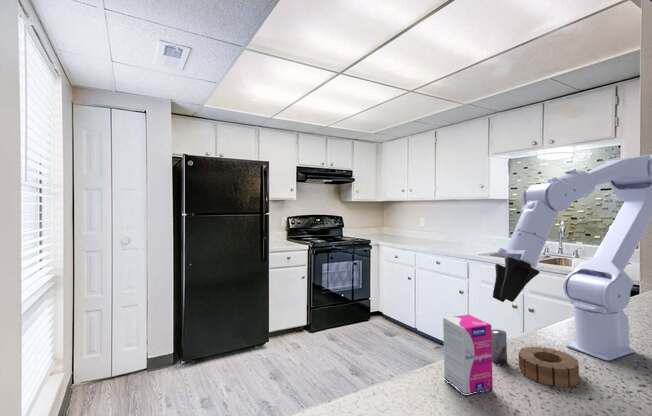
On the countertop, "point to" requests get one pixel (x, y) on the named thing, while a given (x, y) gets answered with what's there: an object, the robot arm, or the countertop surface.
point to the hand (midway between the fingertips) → (501, 299)
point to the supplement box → (468, 353)
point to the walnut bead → (549, 366)
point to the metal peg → (499, 347)
